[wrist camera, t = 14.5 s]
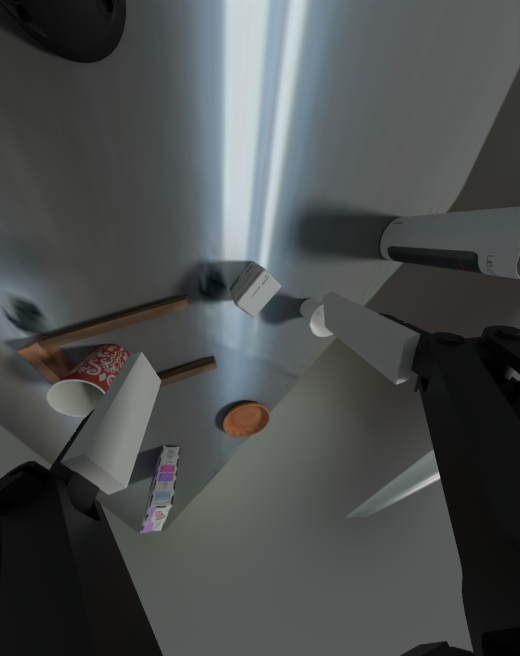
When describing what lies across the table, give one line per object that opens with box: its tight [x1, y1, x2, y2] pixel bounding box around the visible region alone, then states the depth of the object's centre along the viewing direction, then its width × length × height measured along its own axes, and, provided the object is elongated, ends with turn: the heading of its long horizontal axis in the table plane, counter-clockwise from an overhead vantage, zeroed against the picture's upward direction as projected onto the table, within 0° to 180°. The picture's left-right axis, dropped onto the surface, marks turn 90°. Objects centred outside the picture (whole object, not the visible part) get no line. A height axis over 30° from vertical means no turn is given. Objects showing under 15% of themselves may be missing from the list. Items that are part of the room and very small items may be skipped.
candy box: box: [140, 446, 180, 533], centre depth 58 cm, size 14×6×16 cm, turn 156°
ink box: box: [230, 261, 282, 318], centre depth 40 cm, size 8×5×12 cm, turn 138°
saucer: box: [223, 402, 270, 437], centre depth 64 cm, size 16×16×3 cm
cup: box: [300, 299, 333, 337], centre depth 48 cm, size 9×9×10 cm
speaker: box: [380, 207, 520, 279], centre depth 38 cm, size 11×10×26 cm
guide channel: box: [17, 295, 217, 387], centre depth 44 cm, size 20×32×5 cm, turn 103°
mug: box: [46, 344, 129, 417], centre depth 40 cm, size 13×9×14 cm
